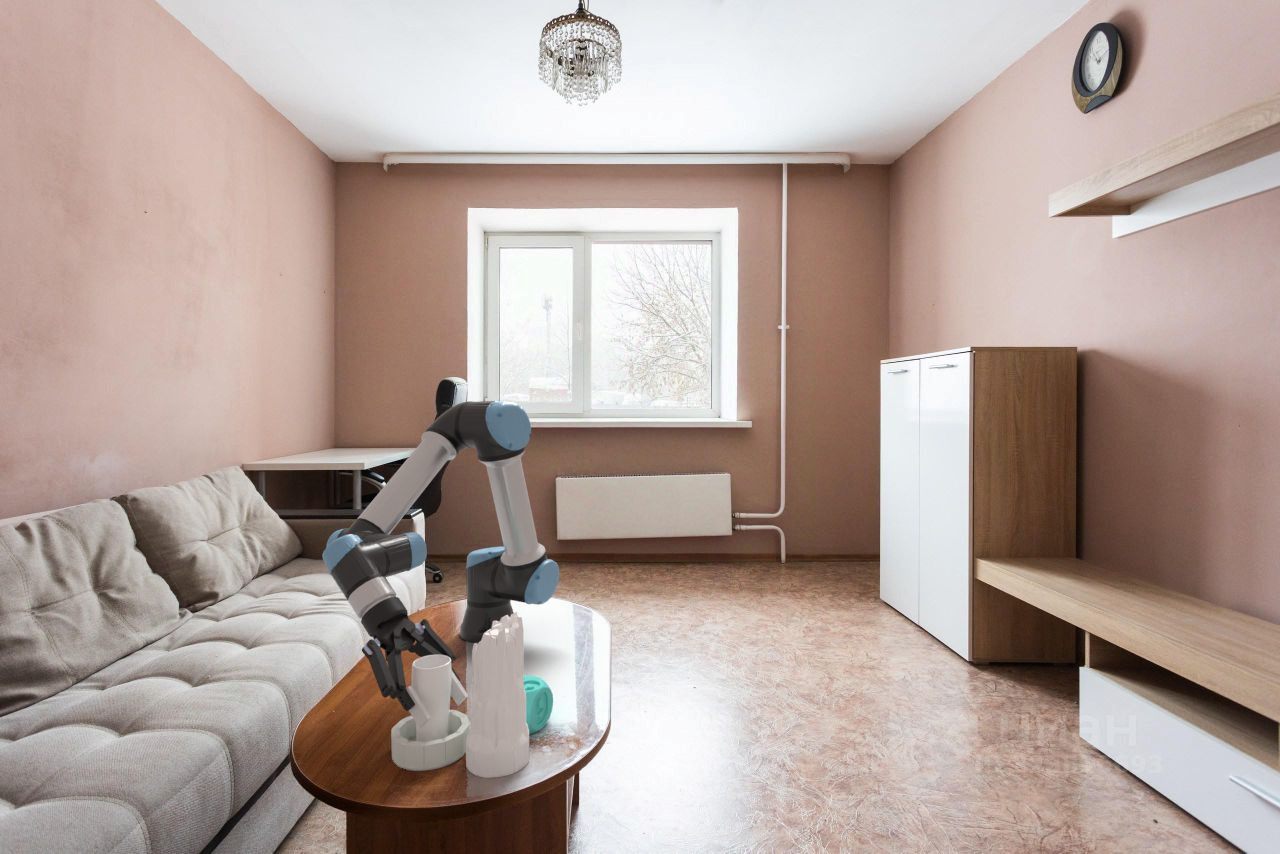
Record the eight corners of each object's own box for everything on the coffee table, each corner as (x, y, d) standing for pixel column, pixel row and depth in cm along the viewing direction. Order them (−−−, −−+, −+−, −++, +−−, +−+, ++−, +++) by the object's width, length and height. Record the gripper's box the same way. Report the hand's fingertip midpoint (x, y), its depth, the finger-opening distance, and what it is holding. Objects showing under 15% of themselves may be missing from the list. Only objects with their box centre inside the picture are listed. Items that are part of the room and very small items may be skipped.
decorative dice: (520, 711, 127) (519, 672, 127) (553, 720, 123) (553, 679, 123) (494, 729, 120) (494, 688, 119) (529, 739, 116) (529, 696, 116)
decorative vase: (470, 783, 102) (470, 630, 101) (461, 751, 112) (460, 611, 111) (536, 768, 106) (536, 621, 106) (522, 738, 116) (522, 603, 116)
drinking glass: (405, 745, 112) (404, 661, 112) (440, 731, 117) (439, 651, 117) (423, 759, 108) (423, 672, 107) (459, 744, 113) (458, 661, 112)
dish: (439, 725, 121) (439, 703, 121) (484, 746, 113) (484, 722, 113) (376, 754, 111) (376, 730, 111) (421, 780, 103) (421, 753, 103)
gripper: (412, 604, 128) (474, 698, 121) (318, 638, 109) (385, 751, 102) (431, 581, 126) (496, 676, 119) (338, 611, 107) (409, 726, 100)
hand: (444, 711), depth 110 cm, fingers open, 8 cm apart
